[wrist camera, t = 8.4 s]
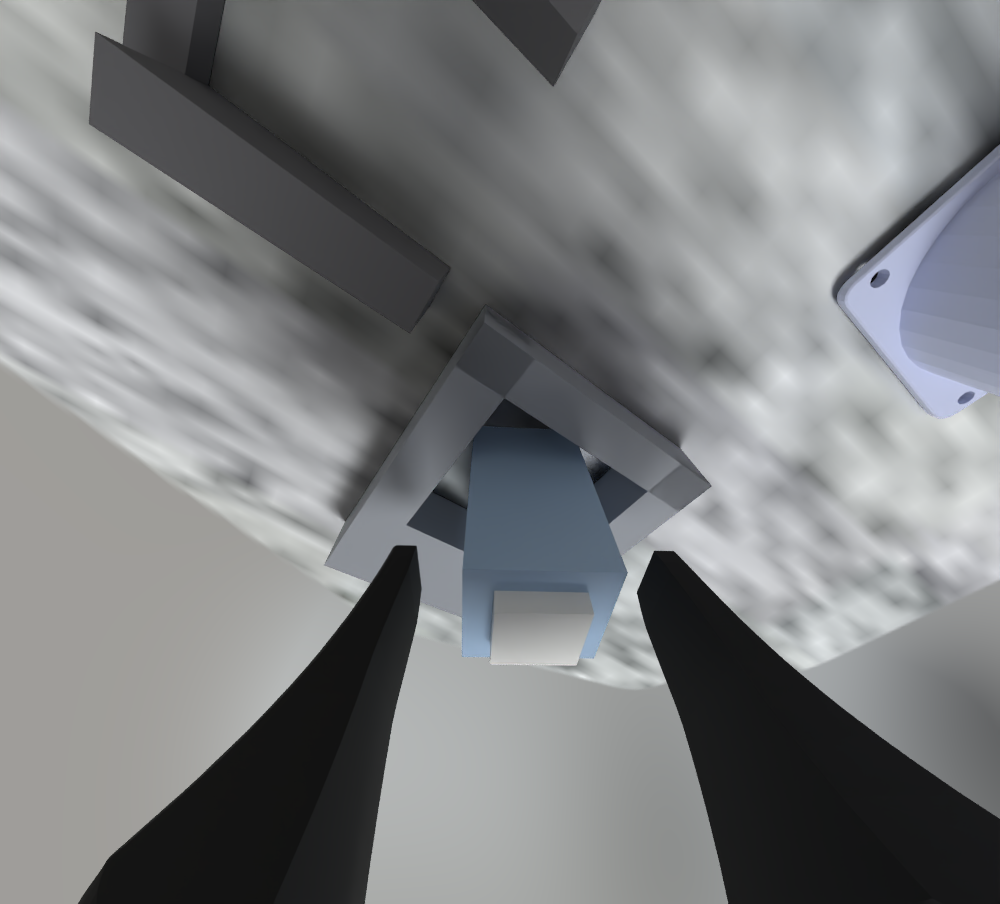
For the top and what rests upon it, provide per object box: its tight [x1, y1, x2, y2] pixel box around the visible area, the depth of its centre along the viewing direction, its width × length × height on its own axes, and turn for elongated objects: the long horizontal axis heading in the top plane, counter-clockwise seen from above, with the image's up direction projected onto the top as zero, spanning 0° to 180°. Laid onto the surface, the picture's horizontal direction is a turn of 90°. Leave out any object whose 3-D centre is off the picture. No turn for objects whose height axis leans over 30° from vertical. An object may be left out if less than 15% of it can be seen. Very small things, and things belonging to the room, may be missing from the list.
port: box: [324, 305, 711, 617], centre depth 15 cm, size 12×10×3 cm
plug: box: [462, 426, 628, 665], centre depth 12 cm, size 4×4×8 cm
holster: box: [89, 0, 601, 333], centre depth 7 cm, size 8×8×3 cm
